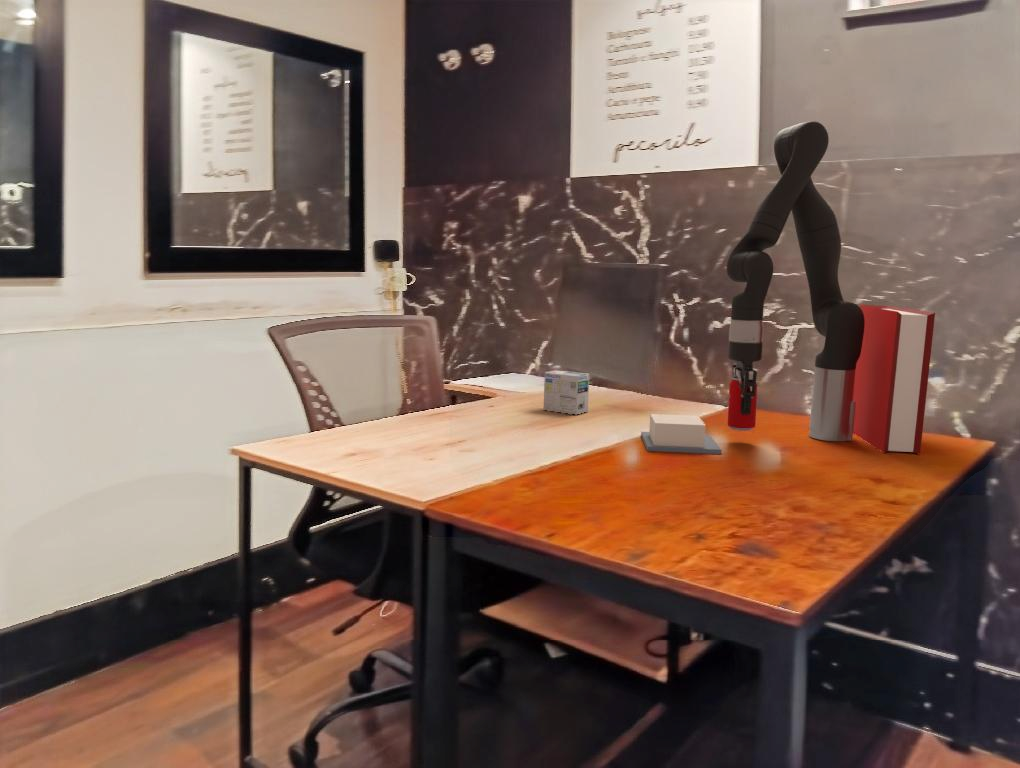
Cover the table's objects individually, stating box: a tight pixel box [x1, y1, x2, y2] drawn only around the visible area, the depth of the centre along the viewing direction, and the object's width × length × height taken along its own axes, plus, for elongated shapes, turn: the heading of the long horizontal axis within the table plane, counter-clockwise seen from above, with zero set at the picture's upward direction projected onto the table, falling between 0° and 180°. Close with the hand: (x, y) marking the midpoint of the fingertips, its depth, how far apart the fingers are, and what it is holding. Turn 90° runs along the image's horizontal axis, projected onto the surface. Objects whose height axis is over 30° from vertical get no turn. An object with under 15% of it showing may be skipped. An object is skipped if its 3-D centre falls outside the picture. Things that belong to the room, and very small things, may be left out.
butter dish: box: [640, 413, 722, 455], centre depth 191 cm, size 16×16×6 cm
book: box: [853, 304, 936, 455], centre depth 200 cm, size 27×8×32 cm, turn 175°
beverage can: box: [727, 377, 758, 432], centre depth 194 cm, size 6×6×12 cm
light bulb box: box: [543, 369, 590, 416], centre depth 228 cm, size 11×7×11 cm, turn 58°
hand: (742, 411), depth 195 cm, fingers closed on beverage can, 6 cm apart
